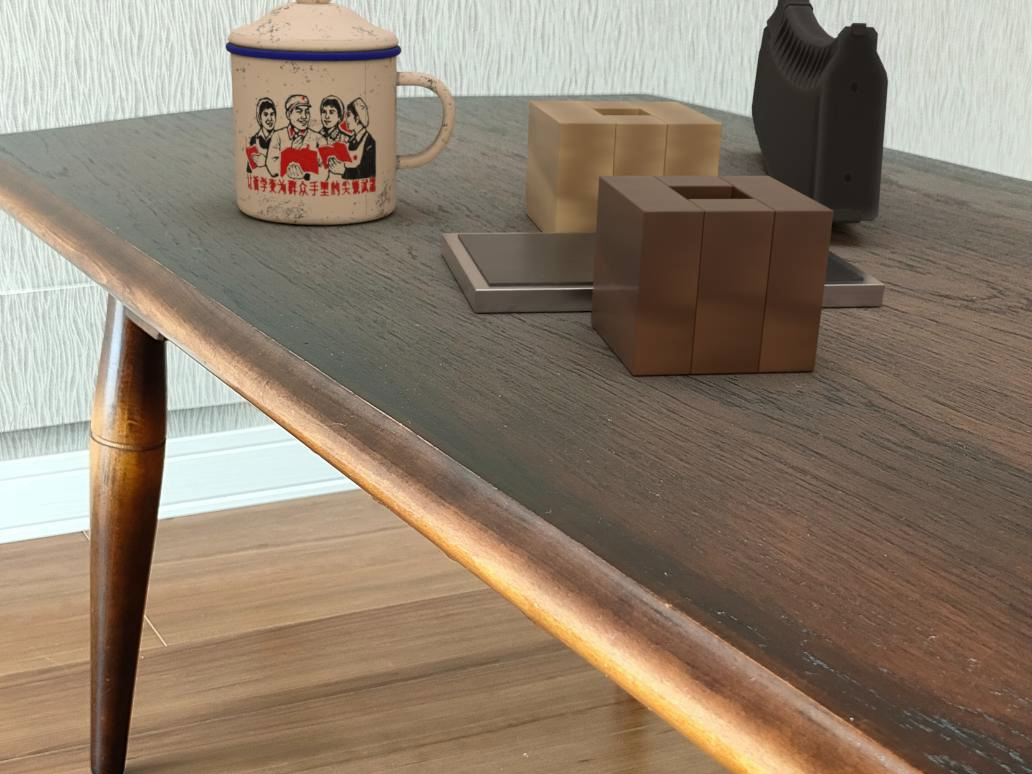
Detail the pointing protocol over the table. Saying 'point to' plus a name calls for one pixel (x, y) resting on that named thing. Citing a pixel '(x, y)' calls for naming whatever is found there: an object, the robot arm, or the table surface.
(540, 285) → the shallow grey tray
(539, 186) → the pen stand
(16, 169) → the table surface
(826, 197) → the ribbed dark grey housing
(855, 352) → the table surface
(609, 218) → the stylus rest
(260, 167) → the teacup with lid
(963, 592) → the table surface
